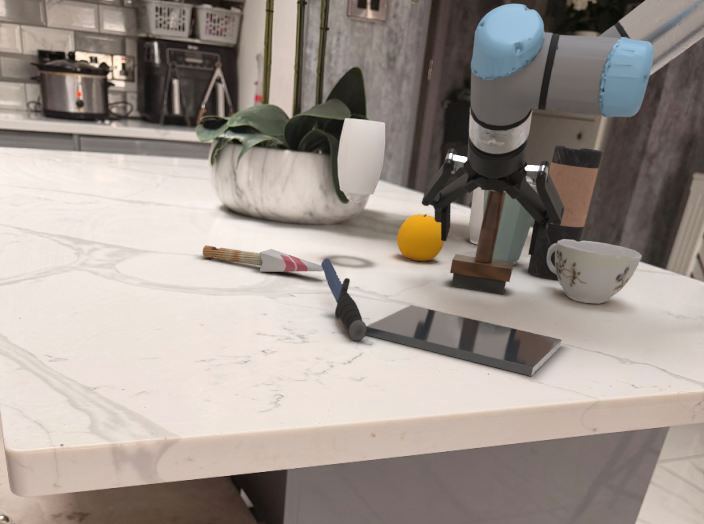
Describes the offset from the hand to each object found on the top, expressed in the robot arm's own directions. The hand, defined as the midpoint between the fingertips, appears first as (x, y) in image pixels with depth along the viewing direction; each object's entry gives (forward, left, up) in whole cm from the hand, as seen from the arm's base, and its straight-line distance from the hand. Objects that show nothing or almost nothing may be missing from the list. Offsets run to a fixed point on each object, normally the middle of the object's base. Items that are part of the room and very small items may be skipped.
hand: (488, 240), depth 117 cm
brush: (0, +2, -7) cm, 7 cm away
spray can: (+12, -40, -7) cm, 42 cm away
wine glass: (+22, +3, -7) cm, 23 cm away
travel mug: (-6, -19, -7) cm, 21 cm away
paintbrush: (+28, +20, -7) cm, 35 cm away
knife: (+8, +33, -4) cm, 34 cm away
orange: (+15, -10, -7) cm, 19 cm away
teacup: (-14, -6, -7) cm, 17 cm away
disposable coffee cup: (+4, -22, -7) cm, 23 cm away
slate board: (-8, +32, -7) cm, 34 cm away
